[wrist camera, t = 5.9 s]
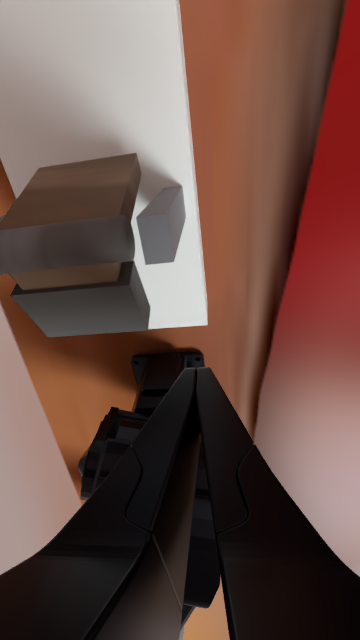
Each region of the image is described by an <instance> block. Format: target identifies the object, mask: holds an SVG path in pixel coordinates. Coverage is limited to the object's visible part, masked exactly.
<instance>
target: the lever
mask: <svg viewBox="0 0 360 640" xmlns="http://www.w3.org/2000/svg"><path fill="white" fill-rule="evenodd" d="M141 175H142V173H141V169H140V165H139V161H138V157H137V153H131V154H125V155H119V156H112V157H106V158H99V159H93V160H86V161H80V162H73V163H67V164H60V165H54V166H47V167H41V168H39V169H38V170H37V171H36V173H35V174H34V176H33V177H32V178H31V180H30V181H29V183H28V184H27V185H26V187H25V188H24V190H23V191H22V193H21V194H20V195H19V197H18V198H17V200H16V201H15V202H14V204H13V205H12V207H11V208H10V209H9V211H8V212H7V214H6V215H5V216H4V218H3V219H2V221H1V222H0V275H2V274H10V276H11V277H12V278H13V279H14V280H15V282H16V283H17V284H16V286H15V288H14V290H13V292H12V294H11V295H10V296H11V297H12V298H13V299H14V300H15V301H16V303H17V304H18V305H19V306H20V307H21V308H22V309H23V310H24V311H25V312H26V314H27V315H28V316H29V317H30V318H31V319H32V320H33V321H34V322H35V324H36V325H37V326H38V327H39V328H40V329H41V330H42V331H43V332H44V334H45V335H46V336H47V337H61V336H75V335H90V334H104V333H119V332H133V331H147V330H148V325H149V317H150V308H151V307H150V304H149V302H148V299H147V296H146V293H145V290H144V288H143V285H142V282H141V279H140V276H139V274H138V271H137V268H136V265H135V262H134V261H133V259H134V256H135V240H134V234H133V229H132V226H131V220H132V215H133V211H134V206H135V202H136V197H137V193H138V188H139V184H140V180H141Z"/></svg>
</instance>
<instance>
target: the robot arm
mask: <svg viewBox="0 0 360 640" xmlns="http://www.w3.org/2000/svg"><path fill="white" fill-rule="evenodd" d="M196 357H200V358H196ZM135 360H138V361H139V362H136V361H135ZM131 364H132V368H133V372H134V375H135V379H136V382H137V386H138V390H137V394H136V398H135V401H134V405H133V408H132V412H130V411H124V410H119V408H116V407H111V409H110V411H109V413H108V415H105V417H104V420H103V421H102V422H101V424H100V426H99V429H98V432H97V434H96V436H95V438H94V440H93V442H92V444H91V445H90V447H89V448H88V449H87V451H86V452H85V453H84V455H83V456H82V457H81V459H80V461H79V465H78V470H79V472H80V474H81V476H82V481H81V485H82V488H81V500H85V501H86V502H85V503H84V504H83V505H82V507H81V508H80V509H79V510H78V511H77V512H76V513H75V515H74V516H73V517H72V518H71V519H70V520H69V522H68V523H67V524H66V525H65V526H64V527H63V529H62V530H61V531H60V532H59V533H58V534H57V535H56V536H55V537H54V538H53V539H52V540H51V541H50V542H49V543H48V544H47V545H46V546H45V547H44V548H42V549H41V550H40V551H39V552H37V553H36V554H34V555H33V556H32V557H30V558H28V559H27V560H25V561H23V562H22V563H20V564H18V565H17V566H15V567H13V568H12V569H10V570H8V571H6V572H5V573H3V574H1V575H0V640H179V637H180V631H181V629H182V627H183V626H184V624H185V623H186V621H187V619H188V618H189V617H190V615H191V613H192V612H193V610H194V609H195V607H202V608H208V607H209V606H210V605H211V603H212V601H213V598H214V596H215V594H216V592H217V590H218V588H219V585H220V574H221V580H222V587H223V594H224V602H225V609H226V616H227V623H228V630H229V637H230V640H360V577H359V576H358V575H357V574H355V573H354V572H353V571H352V570H351V569H350V568H349V567H348V566H346V565H345V564H344V563H343V562H342V561H341V560H340V559H339V558H338V556H337V555H336V554H335V553H334V552H333V551H332V550H331V548H330V547H329V546H328V545H327V544H326V542H325V541H324V540H323V539H322V537H321V536H320V535H319V534H318V532H317V531H316V530H315V528H314V527H313V526H312V525H311V523H310V522H309V521H308V519H307V518H306V516H305V515H304V514H303V513H302V511H301V510H300V509H299V507H298V506H297V505H296V503H295V502H294V501H293V500H292V498H291V497H290V496H289V495H288V493H287V492H286V490H285V489H284V488H283V486H282V485H281V483H280V482H279V481H278V479H277V478H276V477H275V475H274V474H273V472H272V471H271V469H270V468H269V466H268V465H267V463H266V461H265V460H264V459H263V457H262V455H261V453H260V451H259V450H258V448H257V446H256V445H254V442H253V440H252V438H251V436H250V435H249V433H248V431H247V430H246V428H245V426H244V425H243V423H242V421H241V419H240V418H239V416H238V414H237V413H236V411H235V409H234V407H233V406H232V404H231V402H230V401H229V399H228V397H227V396H226V394H225V392H224V390H223V389H222V387H221V385H220V384H219V382H218V380H217V378H216V377H215V375H214V373H213V372H212V370H211V368H209V367H205V365H204V356H203V354H202V353H201V352H182V353H163V354H147V355H135V356H133V357H132V359H131Z"/></svg>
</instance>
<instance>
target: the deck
mask: <svg viewBox="0 0 360 640" xmlns="http://www.w3.org/2000/svg"><path fill="white" fill-rule="evenodd" d="M131 153H137V157H138V161H139V165H140V169H141V173H142V175H141V180H140V184H139V188H138V193H137V197H136V202H135V206H134V211H133V215H132V220H131V226H132V229H133V234H134V240H135V256H134V259H133V261H134V262H135V265H136V268H137V271H138V274H139V276H140V279H141V282H142V285H143V288H144V290H145V293H146V296H147V299H148V302H149V304H150V307H151V308H150V317H149V325H148V329H158V328H172V327H186V326H200V325H207V294H206V284H205V273H204V262H203V251H202V241H201V230H200V219H199V208H198V198H197V187H196V176H195V165H194V155H193V144H192V133H191V122H190V112H189V101H188V90H187V79H186V69H185V58H184V47H183V36H182V26H181V15H180V4H179V0H0V159H1V161H2V164H3V166H4V169H5V172H6V174H7V177H8V179H9V182H10V184H11V187H12V189H13V192H14V194H15V197H16V199H17V198H18V197H19V195H20V194H21V193H22V191H23V190H24V188H25V187H26V185H27V184H28V183H29V181H30V180H31V178H32V177H33V176H34V174H35V173H36V171H37V170H38V169H39V168H41V167H47V166H54V165H60V164H67V163H73V162H80V161H86V160H93V159H99V158H106V157H112V156H119V155H125V154H131ZM4 216H5V215H4ZM4 216H1V217H0V222H1V221H2V219H3V218H4Z"/></svg>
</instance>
